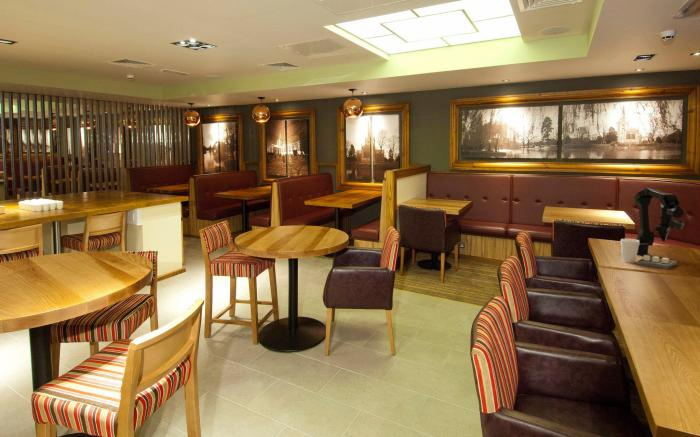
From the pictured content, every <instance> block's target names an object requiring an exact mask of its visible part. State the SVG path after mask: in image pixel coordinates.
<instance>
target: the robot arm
mask: <svg viewBox="0 0 700 437" xmlns="http://www.w3.org/2000/svg"><path fill="white" fill-rule="evenodd" d="M654 198H655V199H657V200H658V202H659V203H660V204H659V207H660V216H659V223H658V224H657V225H656V226H654V227H653V228H654V229H653V231H652V230H651V228H650V215H649V214H650V213H649V206H650V205H651V204H652V199H654ZM634 201H635V202H634V203H635V204H636V206H637V207H638V211H639V212H638V213H639V214H638V215H639V228H640V230H639V231H638V233H637V237H636V238H635V240H639V241H640V244H639V247H638V251H637V255H636V256H644V255H648V256H651V253H649V247H652V246H653V245H654V241H655V232H658V234H659V236H660V239H661V241H662V242H666V240H667V237H668V236H669V234H670V232H672V231H673V229H677V230H679V231H680V230H682V229H683V227H684V226H685V223H684V220H682V219H681V218H682V217H683V216H684V214H685V211H684V210H683V209H682V208H681V205H680V202H679V199H678V196H677V195H676V194H675V193H670V192H669V193H667V192H664V191H661V190H660V189H656V188H655V187H645V188H644V189H643V190H641V191H638V192H637V193H636V194H635V195H634ZM675 218H677V219H679V220H675ZM671 228H673V229H671ZM654 231H655V232H654Z"/></svg>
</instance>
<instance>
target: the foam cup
mask: <svg viewBox="0 0 700 437" xmlns="http://www.w3.org/2000/svg"><path fill="white" fill-rule="evenodd" d="M635 239H636V238H635ZM635 239H634V238H621V239H620V249H621V261H622V263H623V262H624V263H628V264H629V263H631V264H633V263H635V262H636V259H637V256H638V255H637V251H638V247H639V244H640V241H639V240H635Z"/></svg>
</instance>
